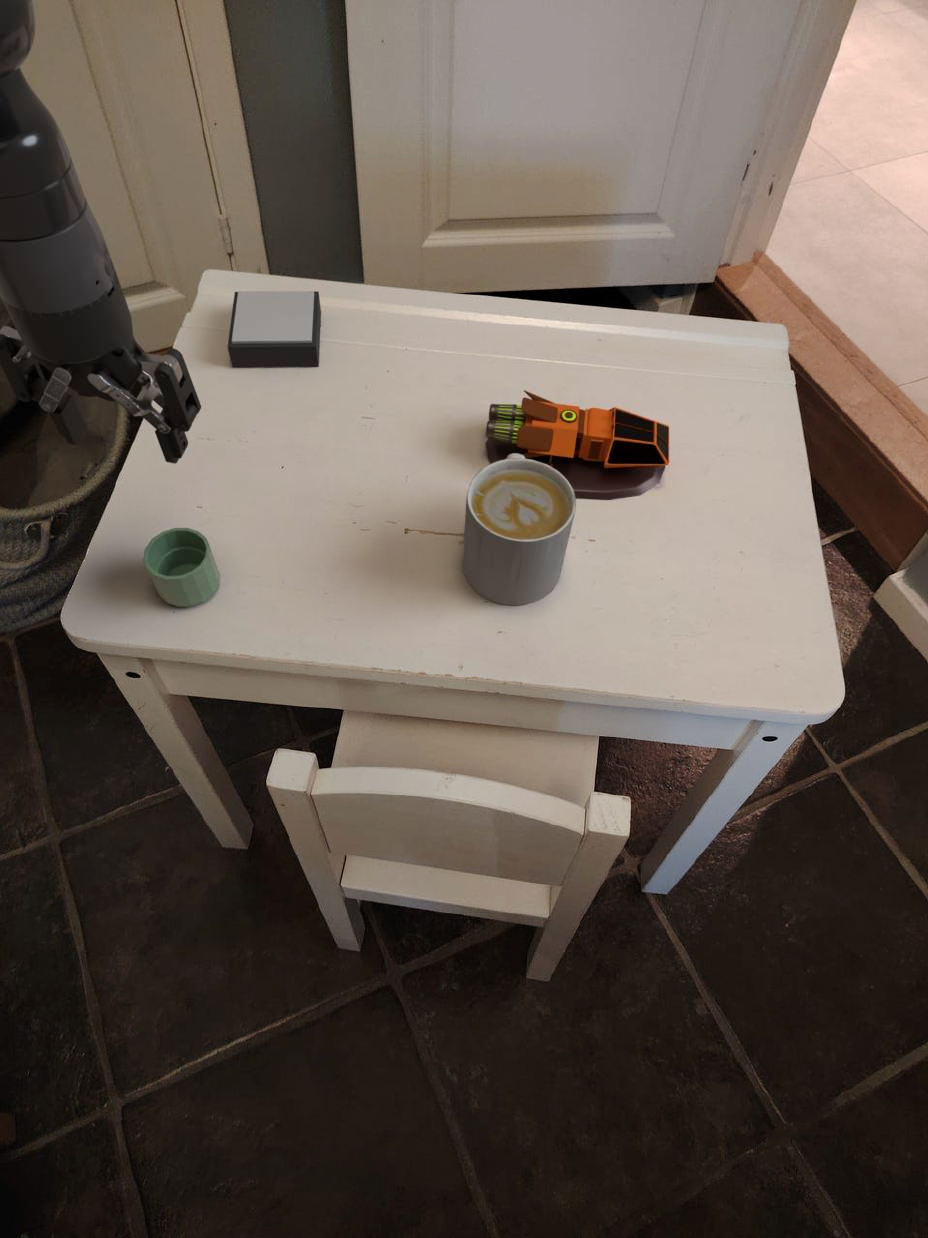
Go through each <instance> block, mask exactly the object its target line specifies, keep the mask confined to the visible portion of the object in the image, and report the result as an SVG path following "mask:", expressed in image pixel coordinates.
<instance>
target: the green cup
mask: <svg viewBox="0 0 928 1238" xmlns="http://www.w3.org/2000/svg"><path fill="white" fill-rule="evenodd" d="M142 559H143V563H144V565H145V568H146V570H147V573H148V575H149V578H150V579H151V582H152V583H153V585H154V588H155V590H156V591H157V594H158V596H159V597H160V598H161V599H162V600H163V601H165V603H167V604H169V605H173V606H175V607H181V608H182V607H193V606H195V605H198V604H201V603H204V602H205V601H206V600H208V599H209V598H210V597H212V596H213V595H214V594H215V592H216V590H217V588H218V587H219V585H220V577H221V574H220V571H219V568H218V565H217V562H216V560H215V559H216V558H215V557H214V553H213V551H212V548H211V545H210V543H209V541H208V539H207V537H206V536H205V535H203V534H202V533H201V532H200V531H199V530H196V529H193V528H189V527H173V528H169V529H166V530H164V531H161V532H160V533H158V534H157V535H155V536H154V537H152V538H151V539H150V541H149V542H148V543H147V545H146V546H145V548H144V552H143V558H142Z"/></svg>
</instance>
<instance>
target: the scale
mask: <svg viewBox="0 0 928 1238" xmlns="http://www.w3.org/2000/svg"><path fill="white" fill-rule="evenodd" d="M321 325H322V307H321V300H320V291H317V290H315V291H314V290H286V291H285V290H276V291H275V290H261V291H260V290H258V291H257V290H252V291H251V290H247V291H241V290H239V291H234V295H233V303H232V311H231V319H230V325H229V332H228V340H227V351H228V356H229V359H230V363H231V367H232V368H235V369H236V368H239V369H240V368H318V367H320V346H321Z"/></svg>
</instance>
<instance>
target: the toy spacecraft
mask: <svg viewBox="0 0 928 1238" xmlns="http://www.w3.org/2000/svg"><path fill="white" fill-rule="evenodd" d="M523 392H524V393H525V394H526V395H527V396H528V397H522V399H521V400H522V401H521V404H516V403H515V404H513V403H509V404H508V403H491V404H490V405H489V410H488V420H487V423H486V427H485V429H486V430H485V437H486V438H487V440H486V441H485V443H484V444H485V448H486V455H487V459H488V460H487V461H488V462H489V463H490V464H492V463H495V462H497V461H501V460H505V459H506V458H507V457H508V455H510V454H512V453H517V454H521V455H523V456H524V457H525V459H530V460H535V461H538V462H542V463H544V464H547V465H549V466H550V467H552V468H554V469H556V470H557V471H558V472H560V473H561V474H562V475H563V476H564V477H565V478H566V479H567V480H568V482H569V483H570V485H571V487H572V488H573V490H574V494H575V497H576V499H591V500H592V499H593V500H615V499H622V498H627V497H635V496H641V495H643V494H644V493H646V492H648V491H649V490H650V489H652V488H653V487H655V486H657V485H658V484H660V483H661V479H662V477H663V474H664V472H665V469H666V466H669V464H670V425H668V424H665V423H662V422H659V421H656V420H654V419H650V418H648V417H644V416H642V415H639V414H636V413H633V412H630V411H628V410H624V409H622V408H618V407H616V406H614V407H612V408H610V409H604V408H600V407H590V408H585V410H584V409H582V408H580V406H578V405H571V404H570V405H569V404H563V403H556V402H553V401H551V400H548V399H546V398H544V397H542V396H539V395H537V394H534V393H532V392H530V391H528V390H525V389H523Z"/></svg>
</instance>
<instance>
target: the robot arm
mask: <svg viewBox="0 0 928 1238" xmlns="http://www.w3.org/2000/svg"><path fill="white" fill-rule="evenodd" d="M35 35H36V14H35V7H34V2H33V0H0V299H1V301H2V303H3V305H4V307H5V309H6V311H7V313H8V316H9V317H10V319H8V320H6V322H5V324H4V325H3V326H2V327H1V329H0V366H1V368H2V371H3V373H4V375H5V377H6V379H7V382H8V383H9V386H10V387H11V389H12V392H13V394H14V396H15V397H16V398H17V399H18V400H19V401H21V402H23V403H30V402H31V400H32V401H34V402H36V403H38V405H39V406H40V408H41V409H42V410H43V411H45V412H48V414H49V416H50V418H51V420H52V422H53V424H54V426H55V429H56V430H57V432H58V433H59V434H60V436H62V437H64V440H65V441H66V443H67V444H69V445H75V446H78V445H79V444H80V443H81V441H82V440H83V438H84V437H85V435H86V434H87V431H88V425H87V422H86V420H85V419H84V416H83V414H82V412H81V409H80V407H79V406H78V403H77V401H76V399H75V397H74V395H73V394H69V393H68V392H69V390H72V391H74V392H76V393H77V394H78V396H81V397H86V398H96V397H97V398H100V399H103V400H105V401H108V402H113V403H117V404H119V406H121V407H122V408H123V409H124V410H126V411H127V412H128V413H129V414H130V415H132V416H133V417H141V418H143V419H144V420H145V421H146V422H147V423H148V424H150V425H151V426H152V427H153V428H154V429H155V431H154V433H155V436H156V439H157V441H158V444H159V447H160V450H161V453H162V455H163V457H164V461H165V462H166V463H169V464H176V465H177V463H178V461H179V460H180V459H182V457H183V456H184V454H185V452H186V450H187V448H188V447H189V440H188V438H187V434H186V432H189V431H190V430H191V428H192V426H193V423H194V421H195V420H196V417H197V416H198V414H199V413H200V412H201V410H202V405H201V401H200V399H199V396H198V394H197V393H198V392H197V391H196V388H195V385H194V382H193V379H192V377H191V373H190V372H189V369H188V367H187V364H186V361H185V358H184V356H183V354H182V353H181V351H179V350H178V349H177V348H173V347H169V348H167V350H166V351H165V353H164V354H163V355H162V354H157V353H155V354H154V353H147V352H145V350H144V349H143V348H142V347H141V346H140V344H139V343H138V341H137V340H136V339H135V336H134V328H133V319H132V314H131V310H130V309H129V306H128V303H127V300H126V297H125V294H124V292H123V289H122V285H121V283H120V280H119V277H118V274H117V271H116V268H115V265H114V263H113V260H112V257H111V254H110V251H109V248H108V245H107V243H106V240H105V237H104V235H103V232H102V229H101V227H100V224H99V223H98V220H97V218H96V217H95V215H94V213H93V210H92V209H91V206H90V205H89V202H88V200H87V198H86V196H85V193H84V190H83V186H82V184H81V181H80V179H79V176H78V173H77V169H76V168H75V165H74V162H73V159H72V156H71V152H70V150H69V148H68V145H67V143H66V140H65V138H64V135H63V133H62V131H61V129H60V127H59V125H58V123H57V121H56V119H55V118H54V116H53V115H52V113H51V112H50V110H49V108H48V107H47V106H46V105H45V103H43V101H42V100H41V99H40V97H39V96H38V95H37V94H36V92H35V91H34V90H33V88H32V86H31V85H30V84H29V83H28V81H27V79H26V77H25V75H24V73H23V71H22V68H21V66H22V65H23V64H24V62H25V61H26V60H27V59H28V57H29V55H30V52H31V50H32V48H33V44H34V41H35ZM40 364H41V365H42V366H43V367H45V368H46V369H47V370H48V371H49V372H50V373H52V374H51V377H50V379H49V380H47V379H45V376H44V374H43V371H42V369H41V367H40ZM137 381H138V383H139V384H140V385H141V390H140V392H139V394H138V395H137V397H135V396H134V395H133V394H132V393H131V391H132V389H133V388H134V386H135V385H136V383H137ZM153 402H154V403H156V405H158V406H159V407H160V408H161V411H160V412H159V411H158V410H157V409H156V408H154V406H153Z"/></svg>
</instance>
